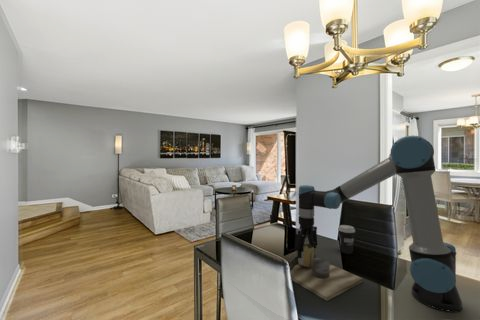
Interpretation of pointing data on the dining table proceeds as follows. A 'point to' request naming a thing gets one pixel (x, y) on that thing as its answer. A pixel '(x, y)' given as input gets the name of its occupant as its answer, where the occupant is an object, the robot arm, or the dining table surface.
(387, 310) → the dining table surface
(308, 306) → the dining table surface
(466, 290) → the dining table surface
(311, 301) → the dining table surface
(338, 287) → the carrier
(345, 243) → the coffee cup
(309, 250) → the tan piece
